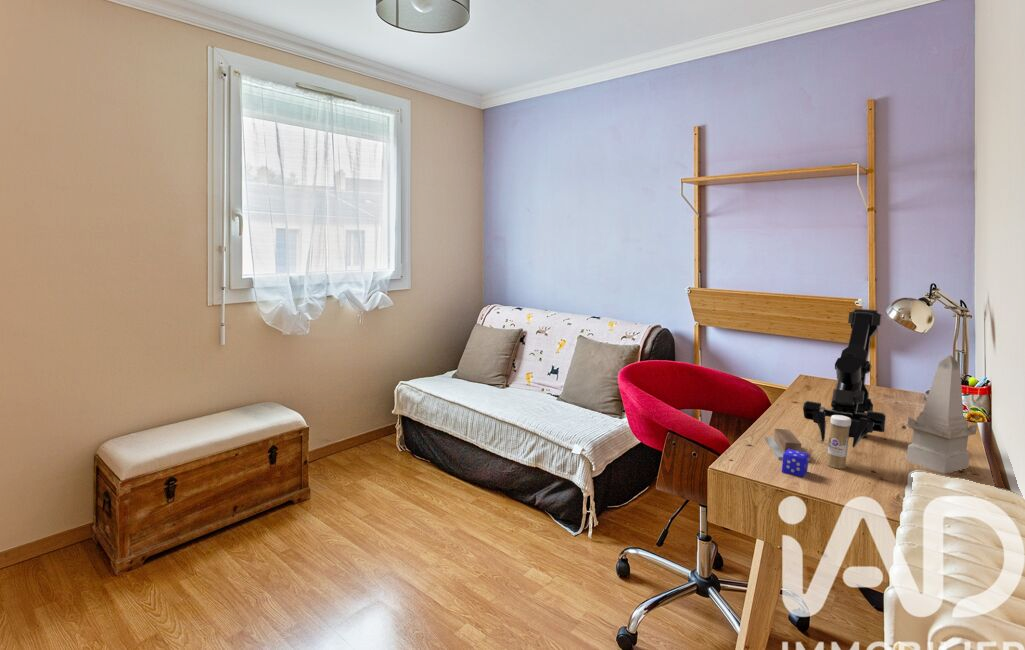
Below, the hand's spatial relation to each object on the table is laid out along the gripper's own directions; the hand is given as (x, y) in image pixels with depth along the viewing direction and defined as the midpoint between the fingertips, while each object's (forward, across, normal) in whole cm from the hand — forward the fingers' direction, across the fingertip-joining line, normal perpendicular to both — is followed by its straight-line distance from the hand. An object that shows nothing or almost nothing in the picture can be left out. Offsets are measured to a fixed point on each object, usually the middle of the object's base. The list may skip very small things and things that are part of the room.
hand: (837, 443), depth 143 cm
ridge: (+1, -13, +8) cm, 15 cm away
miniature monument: (-9, +21, +19) cm, 30 cm away
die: (+12, -8, -2) cm, 15 cm away
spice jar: (+4, 0, +6) cm, 7 cm away
